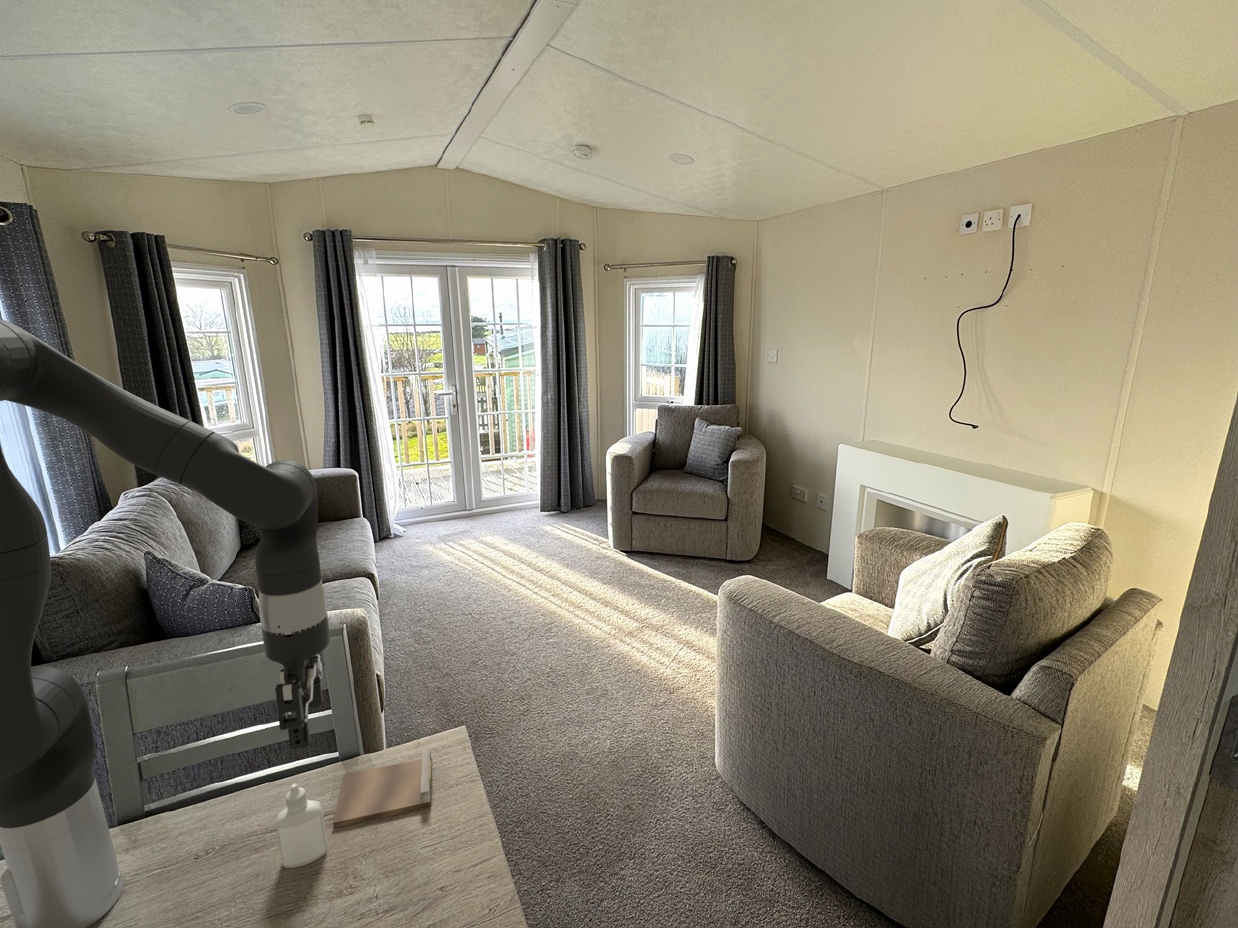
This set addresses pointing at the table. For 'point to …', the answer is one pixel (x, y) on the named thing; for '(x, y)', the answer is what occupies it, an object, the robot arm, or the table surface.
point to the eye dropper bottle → (300, 830)
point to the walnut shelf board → (384, 791)
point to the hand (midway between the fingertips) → (307, 724)
